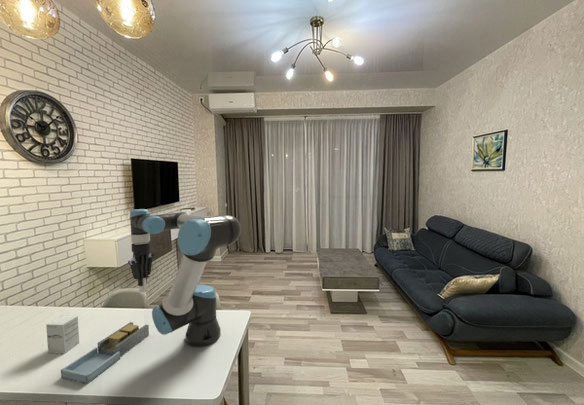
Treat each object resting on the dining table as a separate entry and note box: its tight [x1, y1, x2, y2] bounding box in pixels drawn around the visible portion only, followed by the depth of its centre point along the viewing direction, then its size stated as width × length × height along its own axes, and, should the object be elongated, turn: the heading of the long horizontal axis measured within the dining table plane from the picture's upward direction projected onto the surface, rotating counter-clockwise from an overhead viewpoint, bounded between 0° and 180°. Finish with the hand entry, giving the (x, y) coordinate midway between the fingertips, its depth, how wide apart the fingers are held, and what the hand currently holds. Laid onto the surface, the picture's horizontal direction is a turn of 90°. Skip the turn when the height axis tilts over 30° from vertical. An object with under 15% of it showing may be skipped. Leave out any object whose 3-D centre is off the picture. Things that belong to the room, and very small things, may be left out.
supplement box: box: [46, 315, 80, 354], centre depth 108 cm, size 7×7×13 cm
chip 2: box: [121, 324, 140, 336], centre depth 113 cm, size 5×4×4 cm
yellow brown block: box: [109, 331, 128, 347], centre depth 108 cm, size 5×4×4 cm
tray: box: [60, 346, 121, 385], centre depth 97 cm, size 12×13×3 cm
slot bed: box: [97, 322, 150, 358], centre depth 111 cm, size 10×16×5 cm, turn 167°
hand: (143, 291), depth 120 cm, fingers closed
